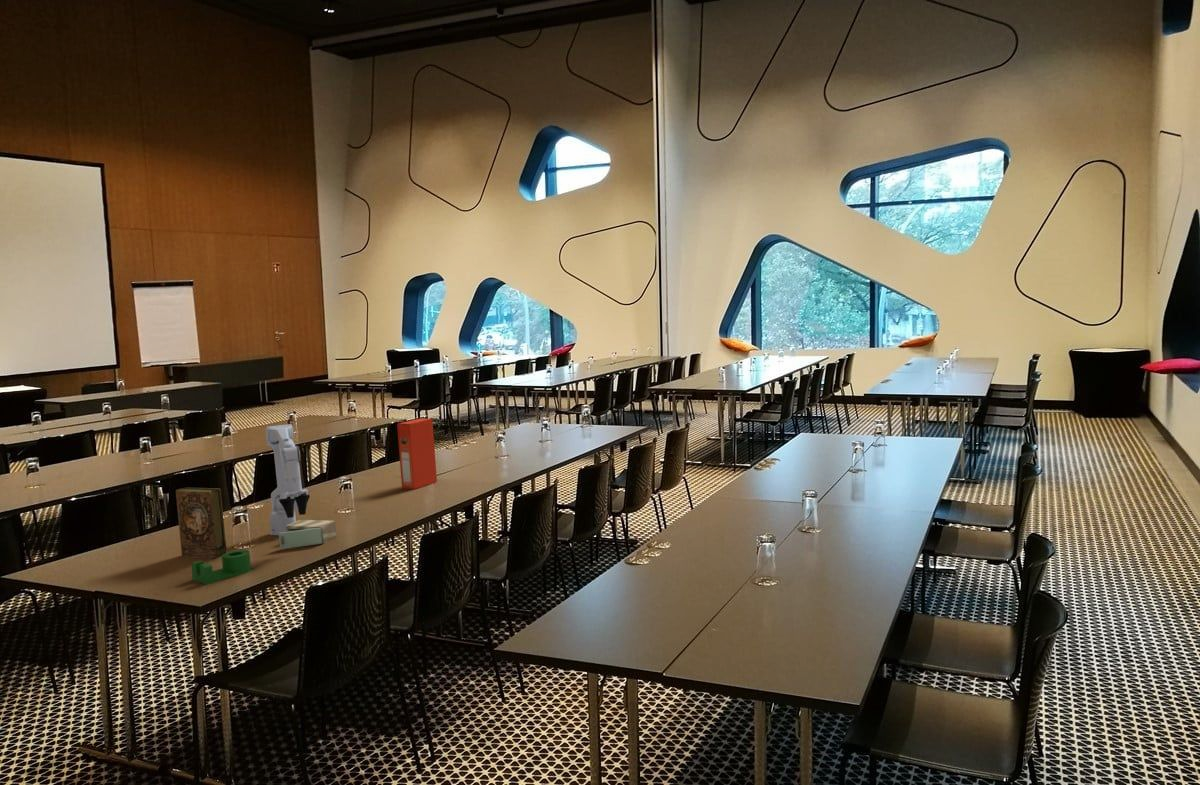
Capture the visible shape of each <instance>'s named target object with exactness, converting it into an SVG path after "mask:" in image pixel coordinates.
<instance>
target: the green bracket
mask: <svg viewBox="0 0 1200 785" xmlns="http://www.w3.org/2000/svg"><path fill="white" fill-rule="evenodd" d="M221 563H222V568H220V569H216V570H213V566H212V564H211V563H210V562H209V563H208V562H205V563H204V561H202V560H197V561H193V562H192V563H191V564H190V566H191V567H190V568H191V575H192V580H193V581H195V582H198V583H201V584H203V585H209V584H212V583H216V582H220V581H223V580H226V579H230V578H234V577H236V576H240V575H243V574H247V573H249V572H251V570H252V567H251V566H252V565H251V564H252V563H251V555H250V551H249V550H247V549H236V550H230V551H226V553H224V554H222V555H221Z"/></svg>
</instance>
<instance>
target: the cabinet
mask: <svg viewBox="0 0 1200 785" xmlns="http://www.w3.org/2000/svg"><path fill="white" fill-rule="evenodd" d="M336 526H337V525H336V520H325V519H324V520H323V519H322V520H320V519H319V520H318V519H317V520H316V519H315V520H314V519H298V520H296V521H295V522H293V523H291V524H289V525H287V526H286V532H290V531H298V530H306V529H314V528H320V527H322V532H323V543H322V544H323V545H324V544H326V543H328V542H330V541H332V540H334V539H336V538H337V527H336ZM322 544H321V545H322Z"/></svg>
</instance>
